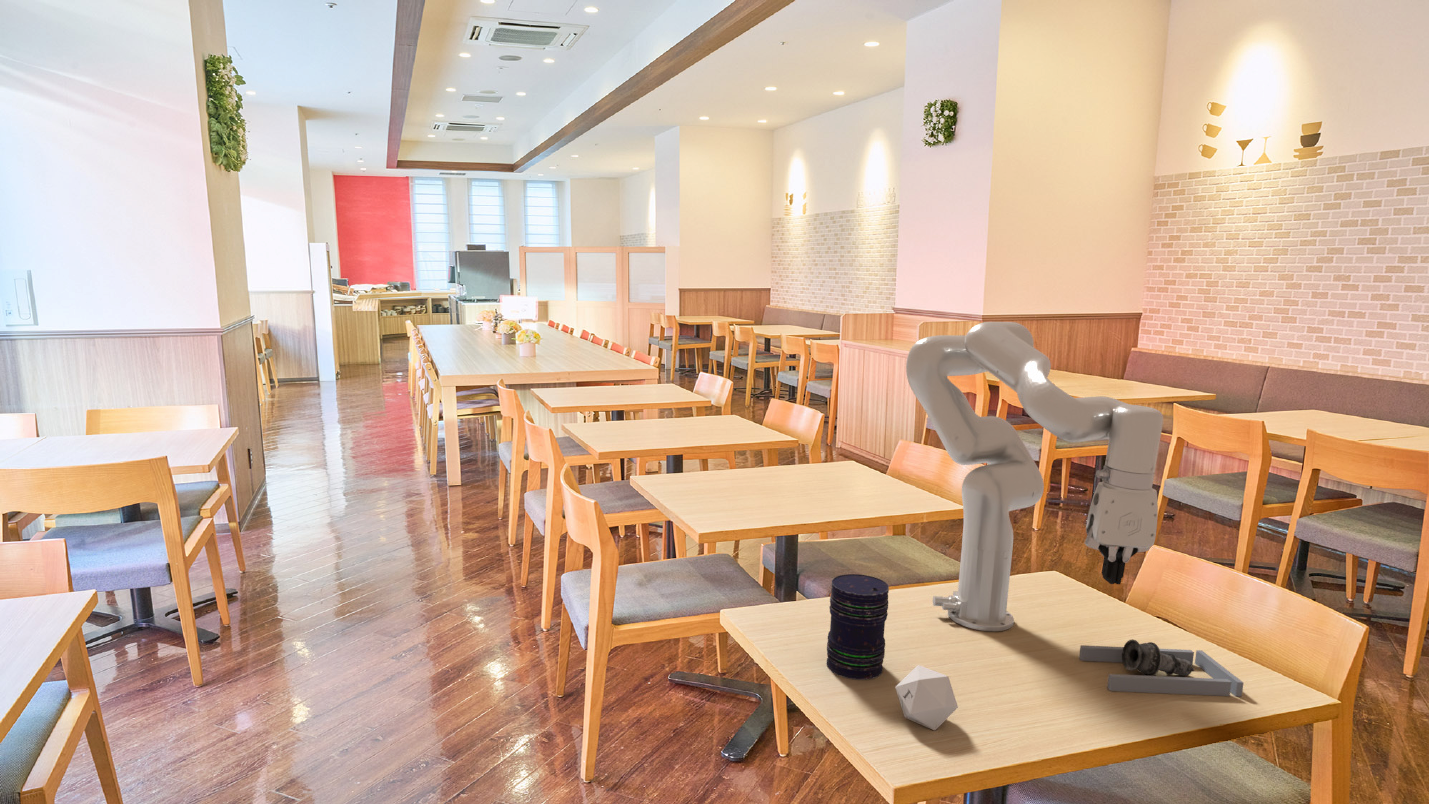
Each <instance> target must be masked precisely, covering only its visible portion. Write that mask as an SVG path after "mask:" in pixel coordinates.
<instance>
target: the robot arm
mask: <svg viewBox="0 0 1429 804" xmlns="http://www.w3.org/2000/svg"><path fill="white" fill-rule="evenodd" d="M1051 367H1052V364H1051V360H1050V358H1049V357H1048V356H1047V355H1045V354H1044V353H1043V352H1041V351H1040V350H1038V349H1037V348H1035V346H1034V337H1033V335H1032V333H1031V331H1030V330H1029V329H1028V328H1027V327H1026V326H1024V325H1023V324H1021V323H1018V322H1015V321H984V322H983V321H982V322H981V323H978V324H976V325H974V326H973V327H971V328H970V329H969V330H968V332H967V333H966V335H965V334H963V335H961V334H960V335H949V334H948V335H947V334H946V335H944V334H941V335H940V334H939V335H931V336H926V337H924V338H921V339H919V340H917V341H916V342H915V343H914V344H913V345H912V347H911V348H910V350H909V351H908V354H907V358H906V363H905V370H906V371H905V373H906V379H907V383H908V385H909V387H910V389H911V391H912V393H913V394H914V396H915V398H916V399H917V401H918V402H919V403H920V405H921V406H922V408H923V410H924V412H925V413H926V415H927V417H928V419H929V421H930V423H931V424H932V426H933V429H934V430H935V432H936V434H937V436H938V438H939V439H940V441H941V442H942V445H943V447H944V448H945V450H946V451H945V452H947V454H948V456H949V458H951V460H952V461H953V462H954V463H956V464H958V465H961V466H970V465H972V466H973V465H978V464H980V465H981V466H978V467H976V468H974V469H972V470H970V472H968V474H966V476H965V477H964V478H963V481H962V485H961V500H962V506H963V507H962V510H963V529H962V539H961V542H962V543H961V552H960V553H961V554H960V563H959V564H960V566H959V574H958V575H959V576H958V585H957V586H958V587H957V590H955V591H953V593H952V595H948V596H937V595H935V596H933V597H932V605H933V607H941V608H942V610H944V611H947V616H948V617H949V619H951V620H952V621H953V622H954V623H957V624H959V625H960V626H963V627H966V628H969V629H972V630H978V631H985V632H1001V631H1002V632H1003V631H1006V630H1007V631H1008V630H1009V629H1011V628H1012V627H1013V626H1014V623H1015V622H1014V621H1015V620H1014V619H1015V618H1014V616H1013V615H1012V613H1010V612H1009V611H1008V610H1007V609H1008V608H1007V606H1008V598H1009V589H1010V586H1009V585H1010V577H1011V567H1012V556H1013V546H1014V530H1013V526H1012V522H1011V519H1010V515H1009V514H1010V512H1012V511H1015V510H1021V509H1026V508H1030V507H1032V506H1034V505H1036V504H1037V503H1039V501H1040V500H1041V498H1042V496H1043V494H1044V489H1045V485H1044V484H1045V483H1044V479H1043V476H1042V474H1041V471H1040V469H1039V467H1038V465H1037V464H1036V462H1035V460H1034V459H1033V457H1032V455H1031V453H1030V452H1029V450H1028V449H1027V447H1026V445H1025V443H1024V441H1023V440H1022V438H1021V437H1020V435H1019V434H1018V431H1017V430H1016V428H1014V426H1013V425H1012V424H1011V423H1010V422H1009V421H1007V420H1005V419H1004V418H1002V417H999V416H993V415H988V416H987V415H986V416H980V415H978V414H977V413H976V412H975V411H974V409H973V408H972V406H971V404H970V402H969V401H968V398H967V397H966V395H965V394H964V393H963V391H962V390H961V389H960V388H959V387H958V386H956V385H955V384H954V383H953V382H952V381H951V380H950V379H949V378H948V377H955V376H972V375H973V376H974V375H977V374H982V373H987V372H988V373H989V374H991V375H993V376H994V378H996V379H998V380H1000V381H1001V382H1002V383H1004V385H1006V386H1007V387H1009V388H1010V389H1012V390H1013V391H1014V392H1016V395H1017V397H1018V401H1019V403H1020V404H1021V406H1022V409H1023V410H1024V411H1025V413H1026V414H1027V415H1028V416H1029V417H1030V418H1031V419H1032V420H1033V421H1035V423H1037V424H1038V425H1040V426H1041V427H1042V428H1043V429H1045V430H1046V431H1048V432H1049V433H1050V434H1052V435H1054V436H1055V437H1056V438H1058V439H1061V440H1063V441H1065V442H1070V443H1081V442H1088V441H1100V440H1101V441H1102V440H1108V443H1107V450H1106V455H1105V457H1106V458H1105V462H1104V465H1103V469H1101V470H1100V469H1097V470H1096V472H1095V475H1096V476H1095V477H1096V478H1098V479H1101V481H1099V482H1098V484H1097V486H1096V488H1095V490H1094V494H1093V496H1092V499H1091V503H1090V507H1089V509H1088V515H1087V520H1086V526H1085V533H1086V535H1087V536H1086V538H1085V541H1084V544H1085V546H1086V547H1088V548H1089V549H1093V550H1097V551H1099V553H1100V554H1101V555H1102V556H1103V561H1102V566H1101V567H1102V568H1101V575H1102V578H1103V579H1104V580H1105V581H1106V582H1107V583H1108V584H1110V585H1114V584H1115V585H1121V584H1122V579H1123V578H1124V575H1125V574H1124V573H1125V568H1126V563H1129V562H1130V560H1131V558H1132V557H1134V556H1135V555H1136V554H1137V553H1143V552H1147V551H1149V550H1150V549H1151V547H1152V546H1154V544H1155V542H1156V536H1157V529H1158V528H1157V527H1158V513H1159V512H1158V511H1159V509H1158V508H1159V506H1158V504H1159V503H1158V491H1157V490H1156V489H1155V488H1153V484H1154V480H1155V479H1154V477H1155V472H1156V466H1157V460H1158V454H1159V448H1160V441H1161V437H1162V432H1163V425H1164V416H1163V414H1162V411H1160V410H1158V409H1156V408H1154V407H1151V406H1146V405H1145V406H1144V405H1138V404H1137V405H1136V404H1129V403H1127V402H1125V401H1121V400H1118V399H1116V398H1113V397H1109V396H1088V397H1087V396H1085V397H1083V396H1082V397H1074V396H1071V395H1070V394H1069V393H1067V392H1065V391H1064V390H1063V389H1061V388H1060V387H1058V386H1057V385H1056V384H1054V383H1053V382H1052V381H1051V380H1050V379H1049V378H1048V377H1049V375H1050V372H1051ZM982 464H985V465H982Z"/></svg>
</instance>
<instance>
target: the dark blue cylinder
mask: <svg viewBox="0 0 1429 804" xmlns="http://www.w3.org/2000/svg"><path fill="white" fill-rule="evenodd" d="M889 589H890V587H889V584H888V583H887V582H886V581H884V580H883V579H881V578H877V577H875V576H872V575H867V574H859V573H857V574H856V573H847V574H846V573H845V574H840V575H837V576H835V577H833V578H832V580H831V590H830V595H829V597H830V598H829V602H830V604H829V613H830V626H829V629H830V630H829V631H828V635H827V642H826V643H827V644H826V652H827V653H826V656H827V658H826V666H827V668H828V669H829V671H830V672H832V673H834V674H835V675H837V676H840V677H843V678H846V679H849V680H856V681H857V680H860V681H863V680H864V681H865V680H873V679H875V678H878V677H879V676H881V675H882V673H883V670H884V668H883V663H884V659H885V654H886V653H885V651H886V650H885V649H886V639H885V627H886V625H885V624H886V622H887V621H886V620H887V619H888V614H889V613H888V609H889V591H890V590H889Z"/></svg>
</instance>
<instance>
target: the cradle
mask: <svg viewBox="0 0 1429 804" xmlns="http://www.w3.org/2000/svg"><path fill="white" fill-rule="evenodd" d="M1079 646H1080V649H1079V656H1078V657H1079V658H1078V659H1079V660H1080V661H1082V662H1099V663H1101V662H1104V663H1122V664H1123V662H1122V651H1123V647H1124V646H1105V645H1104V646H1103V645H1086V644H1083V645H1082V644H1081V645H1079ZM1159 649H1160V652H1161V653H1162V654H1166V655H1168V654H1173V655H1174V656H1175V657H1176V658H1180V659H1184V660H1187V661H1189V662H1190V663H1191V665H1192V666H1193V663H1194V664H1195V665H1196V666H1198V667H1199V668H1200V669H1201V670H1202V671H1204V672H1205V673H1206V674H1207V675H1209V676H1210V677H1211V678H1208V677H1190V676H1189V677H1187V676H1165V675H1164V676H1161V675H1154V676H1145V675H1139V674H1137V675H1135V674H1119V673H1118V674H1116V673H1114V674H1113V673H1112V674H1111V673H1108V679H1107V687H1106V688H1107V690H1109V691H1110V692H1125V693H1146V694H1147V693H1151V694H1152V693H1153V694H1170V695H1171V694H1172V695H1173V694H1174V695H1176V694H1177V695H1194V696H1195V695H1197V696H1219V697H1220V696H1221V697H1224V696H1225V697H1230V695H1231V694H1232V695H1233V696H1234V697H1240V698H1241V697H1242V695H1243V690H1244V689H1243V688H1244V682H1243V681H1242V680H1241V679H1240V678H1238V677H1237V676H1236V675H1234V674H1233V673H1232V672H1231V671H1230V670H1228V669H1226V668H1225V666H1223V665H1221V664H1220V663H1219V662H1218V661H1216V660H1215V659H1213V657H1211V656H1210V655H1208V653H1206V652H1205V651H1204V650H1200V649H1199V650H1198V649H1197V650H1195V651H1196V652H1194V651H1193V650H1191V649H1181V648H1180V649H1178V648H1177V649H1176V648H1159ZM1194 654H1195V655H1194ZM1194 656H1195V657H1194ZM1194 658H1195V659H1194ZM1193 661H1194V662H1193Z"/></svg>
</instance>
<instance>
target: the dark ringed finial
mask: <svg viewBox="0 0 1429 804" xmlns="http://www.w3.org/2000/svg"><path fill="white" fill-rule="evenodd" d="M1122 647H1123V651H1122V662H1123V663H1122V662H1121V663H1122V664H1123V666H1124V668H1125V669H1126V670H1128V671H1135V670H1137V671H1138V672H1140V673H1141V674H1143V676H1156V675H1157V673H1158V672H1160V671H1161V672H1164V673H1165V674H1167V675H1173V674H1175V675H1179V676H1181V677H1187V676H1189V675H1191V673H1192V672H1194V671H1195V668H1194V667H1193V664H1192V665H1191V663H1190V662H1189V661H1187V660H1184V659H1180V658H1176V657H1175V656H1174V655H1173V654H1168V655H1166V654H1162V653H1161V652H1160V649H1161V648H1160V647H1159V646H1158V645H1157V644H1156V643H1155V642H1152V641H1150V642H1143V643H1139V641H1138V640H1136V639H1129V640H1128V641H1126V642H1125V643H1124V646H1122Z"/></svg>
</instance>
